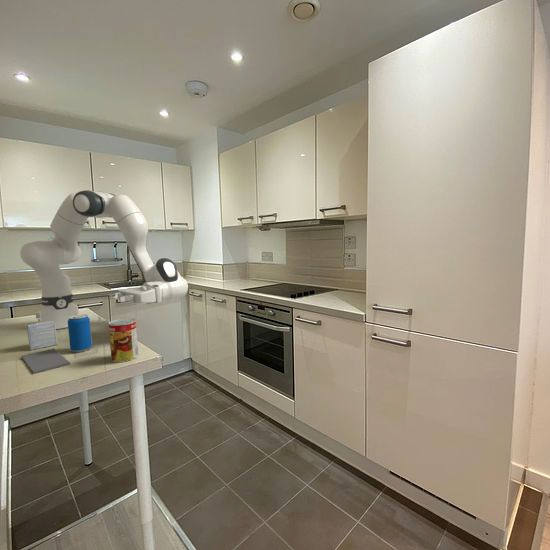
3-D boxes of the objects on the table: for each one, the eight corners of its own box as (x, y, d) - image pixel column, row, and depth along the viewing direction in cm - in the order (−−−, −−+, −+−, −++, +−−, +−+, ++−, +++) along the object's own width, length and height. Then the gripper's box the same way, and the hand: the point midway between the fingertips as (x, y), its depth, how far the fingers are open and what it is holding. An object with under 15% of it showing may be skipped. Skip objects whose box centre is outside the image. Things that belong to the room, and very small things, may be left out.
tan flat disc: (70, 350, 109) (70, 350, 109) (87, 346, 113) (87, 346, 113) (75, 353, 105) (75, 353, 105) (92, 349, 109) (92, 349, 109)
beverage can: (77, 347, 112) (73, 314, 111) (95, 346, 112) (92, 313, 111) (66, 353, 106) (63, 319, 104) (86, 352, 106) (83, 318, 105)
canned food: (113, 355, 103) (110, 320, 102) (139, 351, 106) (136, 317, 104) (109, 364, 96) (106, 326, 94) (137, 360, 98) (134, 323, 97)
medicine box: (55, 342, 118) (52, 320, 117) (57, 345, 115) (55, 322, 114) (29, 348, 113) (26, 324, 112) (30, 350, 110) (28, 327, 109)
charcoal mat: (21, 357, 103) (21, 355, 103) (53, 350, 110) (53, 348, 110) (33, 373, 90) (33, 371, 90) (69, 364, 96) (69, 362, 96)
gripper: (138, 283, 133) (103, 288, 123) (161, 286, 119) (124, 292, 109) (140, 298, 133) (105, 303, 123) (163, 303, 119) (126, 309, 109)
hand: (114, 298), depth 116 cm, fingers open, 8 cm apart
